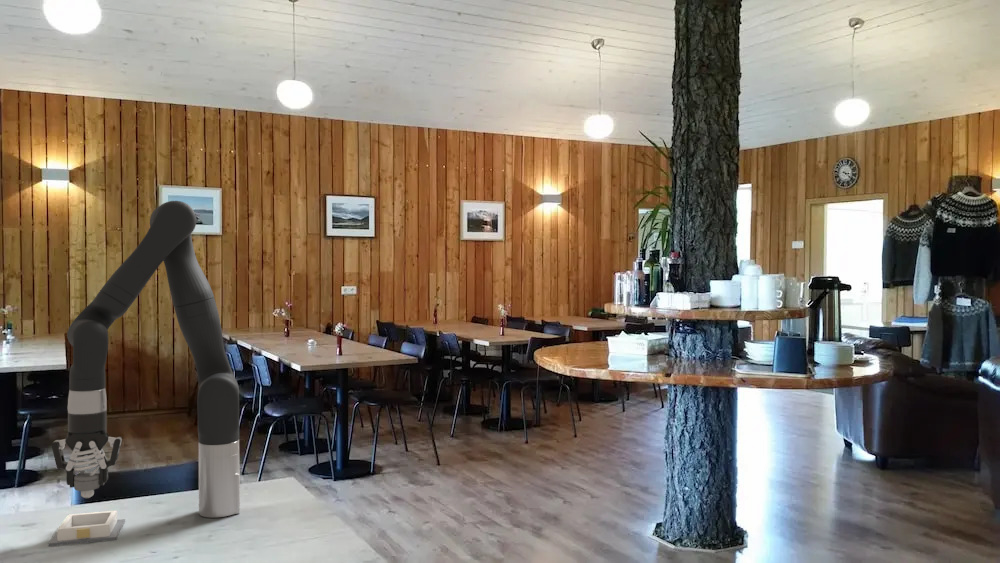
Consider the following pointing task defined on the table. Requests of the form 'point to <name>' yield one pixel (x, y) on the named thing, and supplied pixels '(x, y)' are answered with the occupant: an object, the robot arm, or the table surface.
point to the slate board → (112, 536)
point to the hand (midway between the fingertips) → (87, 485)
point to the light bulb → (86, 474)
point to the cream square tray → (87, 525)
